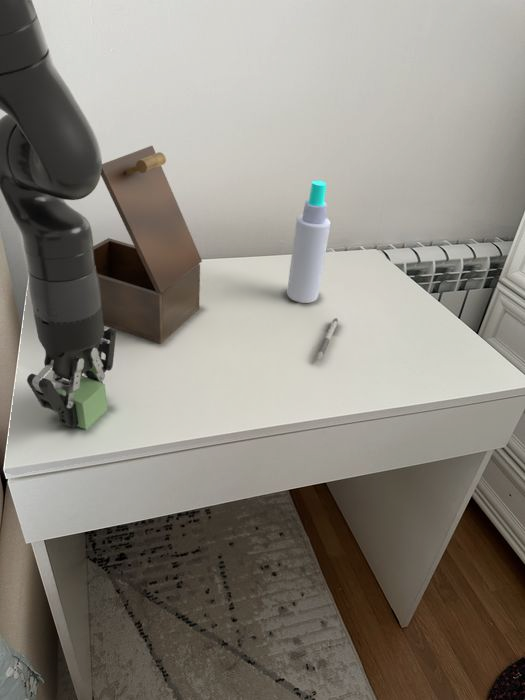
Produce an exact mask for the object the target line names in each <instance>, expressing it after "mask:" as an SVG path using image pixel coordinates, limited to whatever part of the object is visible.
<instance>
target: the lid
mask: <svg viewBox="0 0 525 700" xmlns="http://www.w3.org/2000/svg"><path fill="white" fill-rule="evenodd" d="M166 161H167V158H166V155H165V154H164V153H163V152H160V151H158V152H156V150H155V148H154V145H150V146H146V147H144V148H141V149H139V150H136V151H133V152H130V153H128V154H126V155H123V156H120V157H118V158H114V159H112V160H109V161H106V162H104V163H102V170H101V176H100V177H101V178H102V181H103V183H104V185H105V187H106V189H107V191H108V193H109V195H110V197H111V200H112V202H113V204H114V206H115V208H116V210H117V212H118V214H119V216H120V218H121V221H122V223H123V225H124V227H125V229H126V231H127V233H128V236H129V237H130V240H131V242H132V245H134V246H135V248H136V250H137V252H138V254H139V256H140V259H141V261H142V263H143V265H144V267H145V269H146V271H147V273H148V275H149V277H150V280H151V282H152V284H153V286H154V288H155V290H156V292H157V294H159V293H162V292H163V291H164V290H166V289H167V288H168V287H169V286H171V285H172V284H173V283H175V282H176V281H177V280H179V279H180V278H181V277H182V276H184V275H185V274H186V273H188V272H189V271H190V270H191V269H193V268H194V267H195V266H197V265H198V264H201V263H202V262H203V260H202V257H201V255H200V252H199V250H198V249H197V246H196V243H195V240H194V239H193V237H192V234H191V232H190V230H189V227H188V225H187V223H186V221H185V218H184V216H183V214H182V213H183V212H182V211H181V209H180V206H179V204H178V201H177V199H176V197H175V195H174V192H173V189H172V187H171V185H170V183H169V181H168V178H167V176H166V173H165V171H164V169H163V165H165V164H166Z"/></svg>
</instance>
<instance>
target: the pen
mask: <svg viewBox="0 0 525 700" xmlns="http://www.w3.org/2000/svg"><path fill="white" fill-rule="evenodd" d="M338 322H339V319H338V318H337V317H335V318H334V319H332V322H331V323H330V326H329V328H328V330H327V332H326V334H325V337H324V338H323V340H322V343H321V345H320V346H319V349H318V351H317V353H316V361H317V362H319V361H321V359H322V357H323V356H324V355H325V352H326V350H327V348H328V346H329V344H330V341H331V339H332V336H333V334H334V333H335V331H336V328H337V326H338Z"/></svg>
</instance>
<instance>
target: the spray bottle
mask: <svg viewBox="0 0 525 700" xmlns="http://www.w3.org/2000/svg"><path fill="white" fill-rule="evenodd" d="M326 190H327V182H325V181H323V180H313V181H311V187H310V193H309V199H307V200H305V202H304V207H303V212H302V214H300V215H298V216H297V217H296V221H295V229H294V236H293V242H292V249H291V250H292V252H291V258H290V266H289V274H288V281H287V282H288V283H287V289H286V294H287V297H288V298H289V299H290V300H292V301H294V302H296V303H301V304H308V303H310V304H311V303H314V302H315V301H316V300H318V298H319V293H320V289H321V281H322V277H323V271H324V264H325V258H326V252H327V248H328V247H327V246H328V241H329V235H330V229H331V220H330V219H329V218H328V217H327V209H328V204H327V202H326V201H325V198H326V197H325V196H326Z"/></svg>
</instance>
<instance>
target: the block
mask: <svg viewBox="0 0 525 700" xmlns="http://www.w3.org/2000/svg"><path fill="white" fill-rule="evenodd" d="M68 381H71V380H68ZM62 395H64V396H66V391H65V390H63V391H62ZM74 404H76V410H77V417H78V425H77V426H76V427H78V428H81V429H83V430H86V431H87V430H88V429H89V428H90V427H91V426H92V425H93V424H94V423H95V422H96V421H98V419H99V418H100V417H102V416H103V415H104V414H105V413H106V412H107V411H108V399H107V391H106V384H105V383H104V382H103V383H101V382H98V381H95V380H93V379H90V378H87V377H86V376H85V375H83V374H82V375H81V379H80V388H79V390H76V393H75V403H74ZM57 418H58V419H59V415H58V414H57Z"/></svg>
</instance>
